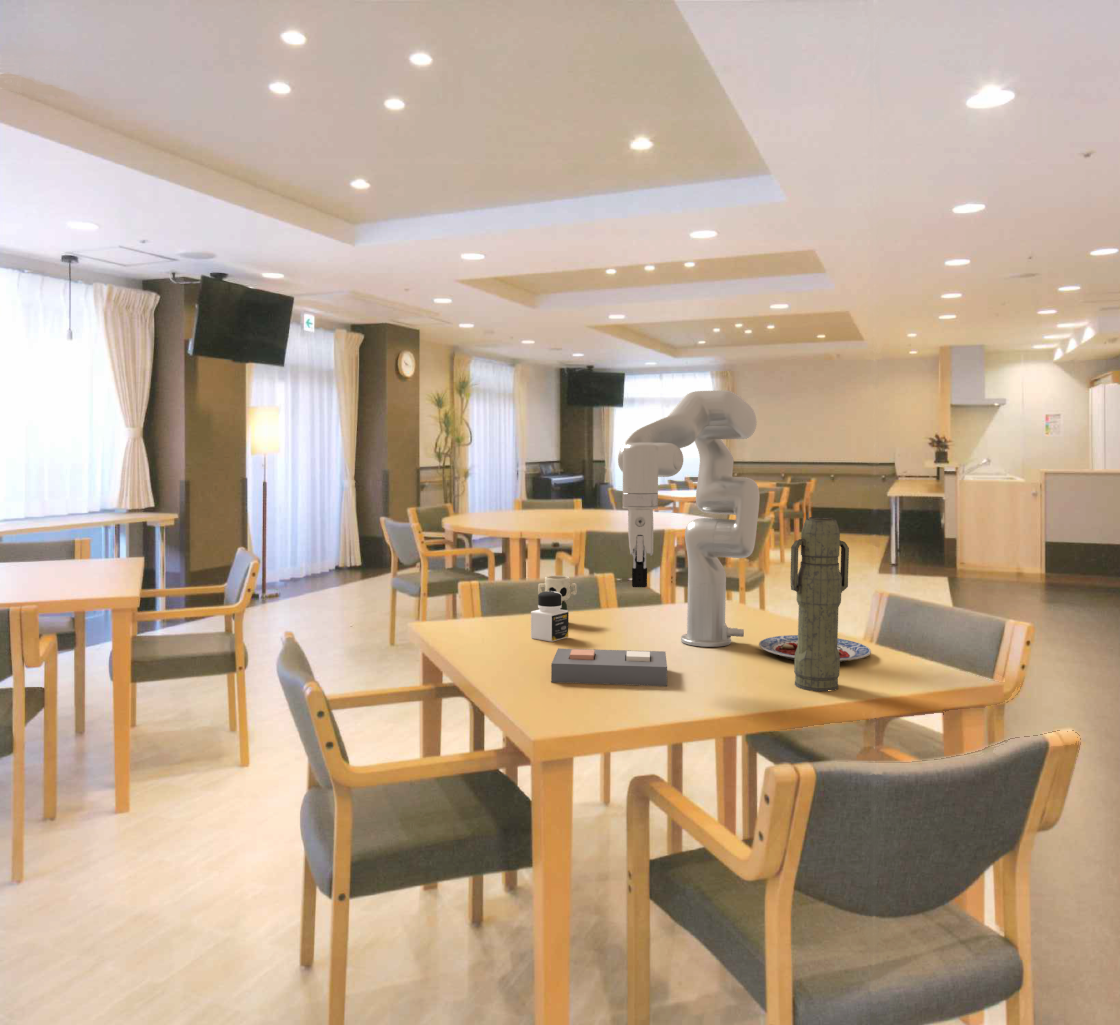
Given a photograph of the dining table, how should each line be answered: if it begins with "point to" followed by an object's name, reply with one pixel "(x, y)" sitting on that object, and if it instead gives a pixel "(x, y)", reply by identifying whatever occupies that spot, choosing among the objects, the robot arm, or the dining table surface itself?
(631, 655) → the ivory key
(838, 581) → the thermos
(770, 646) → the ceramic plate
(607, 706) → the dining table surface
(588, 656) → the terracotta key
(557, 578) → the character mug
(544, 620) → the medicine bottle
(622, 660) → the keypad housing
